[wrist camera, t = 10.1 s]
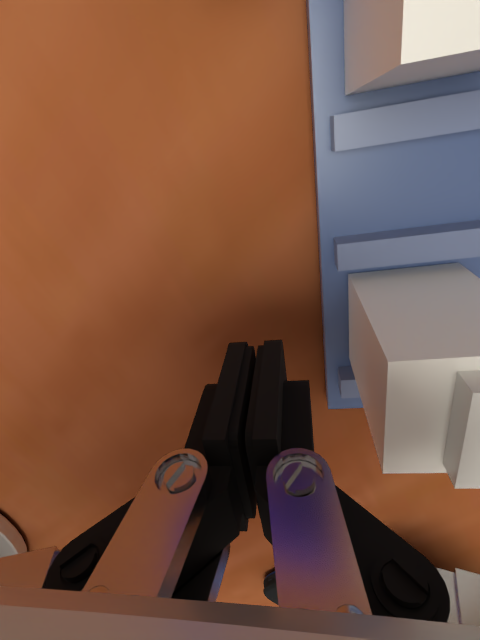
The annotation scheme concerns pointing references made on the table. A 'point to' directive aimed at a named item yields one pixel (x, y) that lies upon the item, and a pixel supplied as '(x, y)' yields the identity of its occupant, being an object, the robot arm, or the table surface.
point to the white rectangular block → (419, 367)
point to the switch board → (386, 181)
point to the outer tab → (408, 41)
